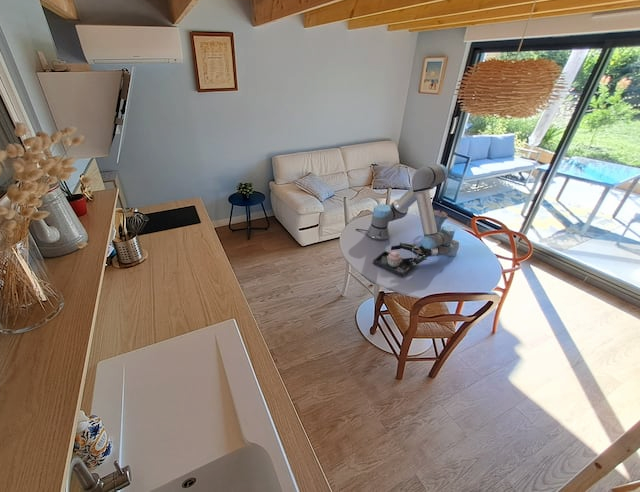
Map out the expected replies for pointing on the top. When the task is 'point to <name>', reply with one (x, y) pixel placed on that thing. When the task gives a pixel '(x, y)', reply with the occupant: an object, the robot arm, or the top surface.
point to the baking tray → (399, 270)
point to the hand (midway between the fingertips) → (396, 254)
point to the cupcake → (394, 259)
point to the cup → (454, 248)
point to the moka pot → (439, 218)
